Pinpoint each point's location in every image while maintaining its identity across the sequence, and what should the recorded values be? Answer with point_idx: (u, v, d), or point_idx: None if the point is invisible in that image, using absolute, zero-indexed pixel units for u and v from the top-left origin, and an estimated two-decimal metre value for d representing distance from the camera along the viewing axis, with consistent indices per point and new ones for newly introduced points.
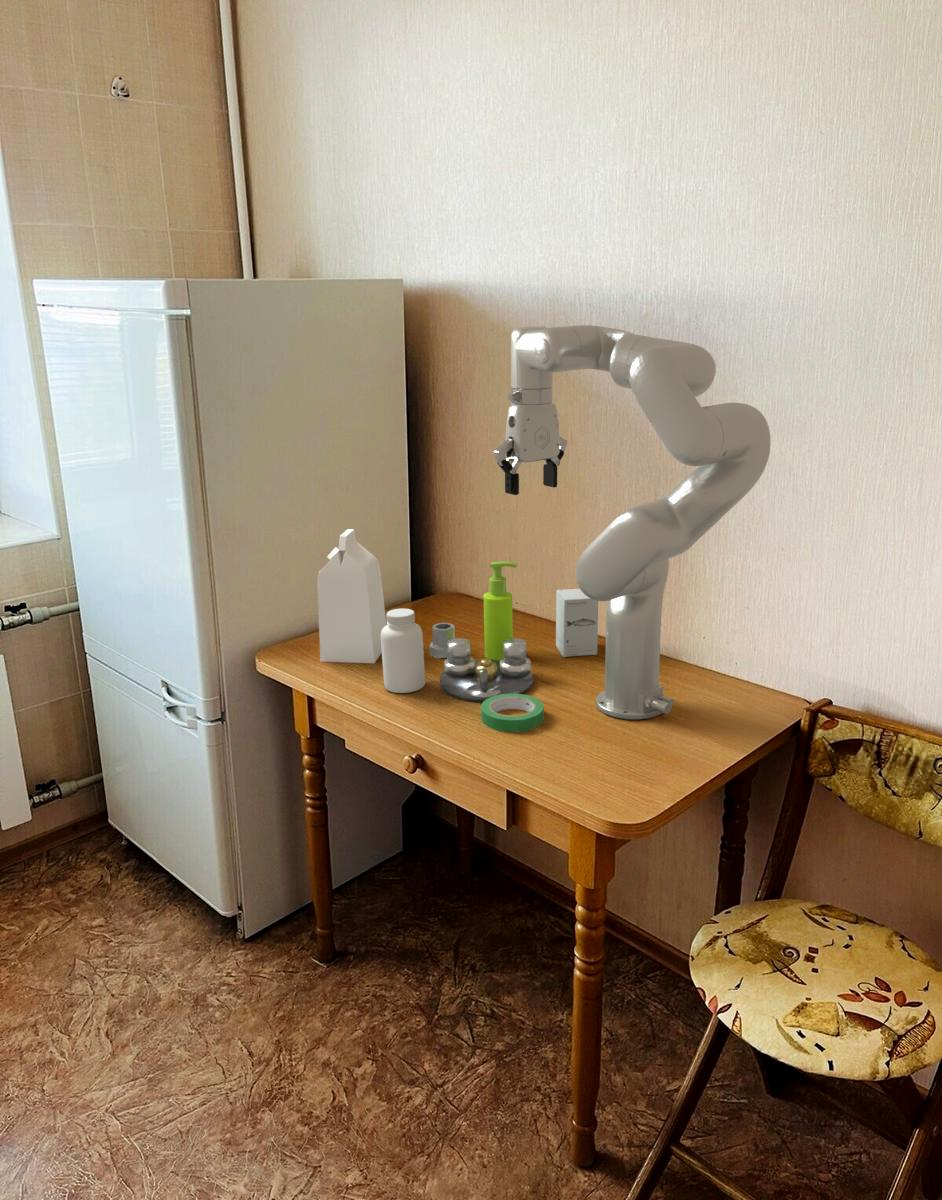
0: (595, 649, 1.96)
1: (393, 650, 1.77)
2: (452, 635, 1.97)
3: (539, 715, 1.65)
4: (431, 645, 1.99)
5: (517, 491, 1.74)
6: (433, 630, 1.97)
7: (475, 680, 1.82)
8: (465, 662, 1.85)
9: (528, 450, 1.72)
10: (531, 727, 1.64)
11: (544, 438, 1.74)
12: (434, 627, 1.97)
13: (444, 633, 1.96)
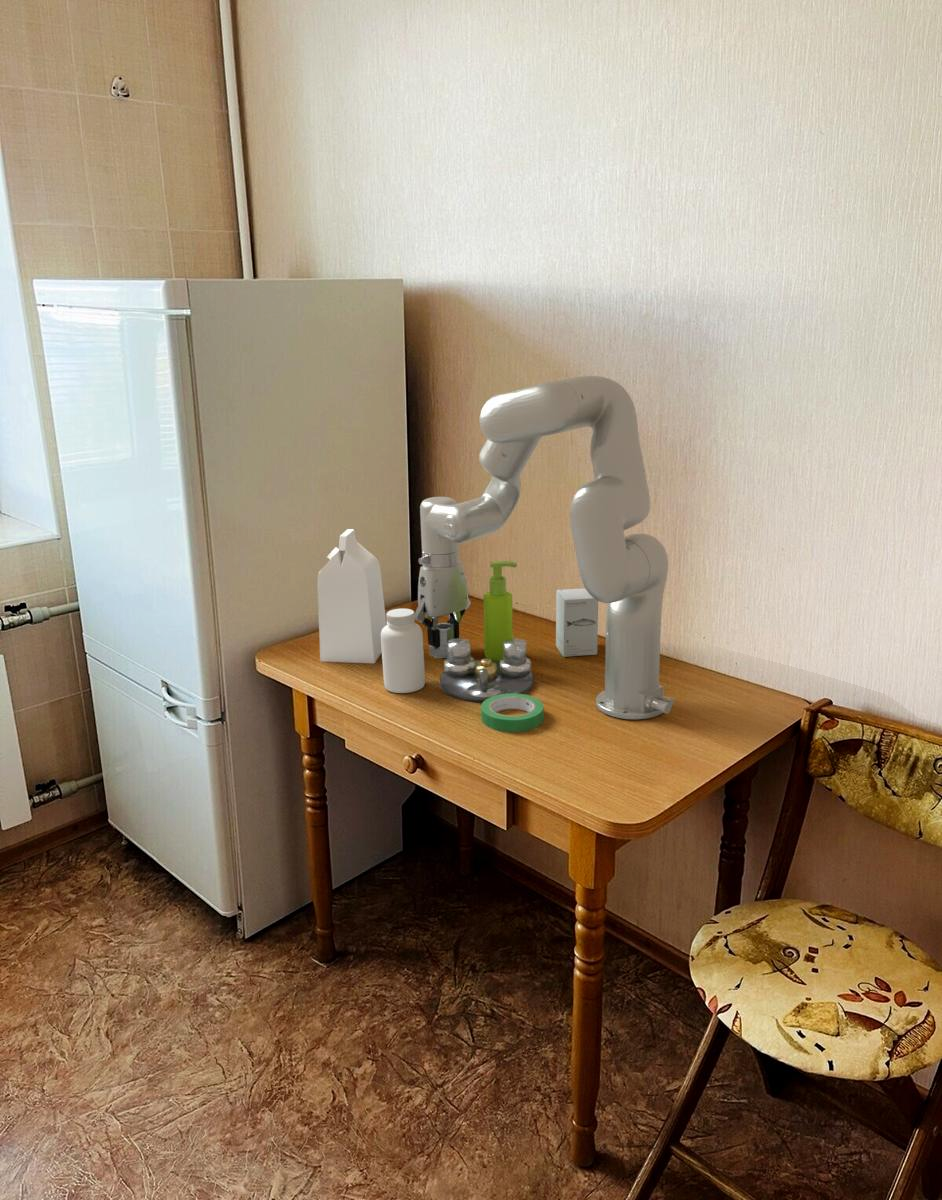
0: (595, 649, 1.96)
1: (393, 650, 1.77)
2: (452, 635, 1.97)
3: (539, 715, 1.65)
4: None
5: (438, 644, 1.96)
6: None
7: (475, 680, 1.82)
8: (465, 662, 1.85)
9: (438, 606, 1.92)
10: (531, 727, 1.64)
11: (453, 594, 1.94)
12: None
13: (444, 633, 1.96)
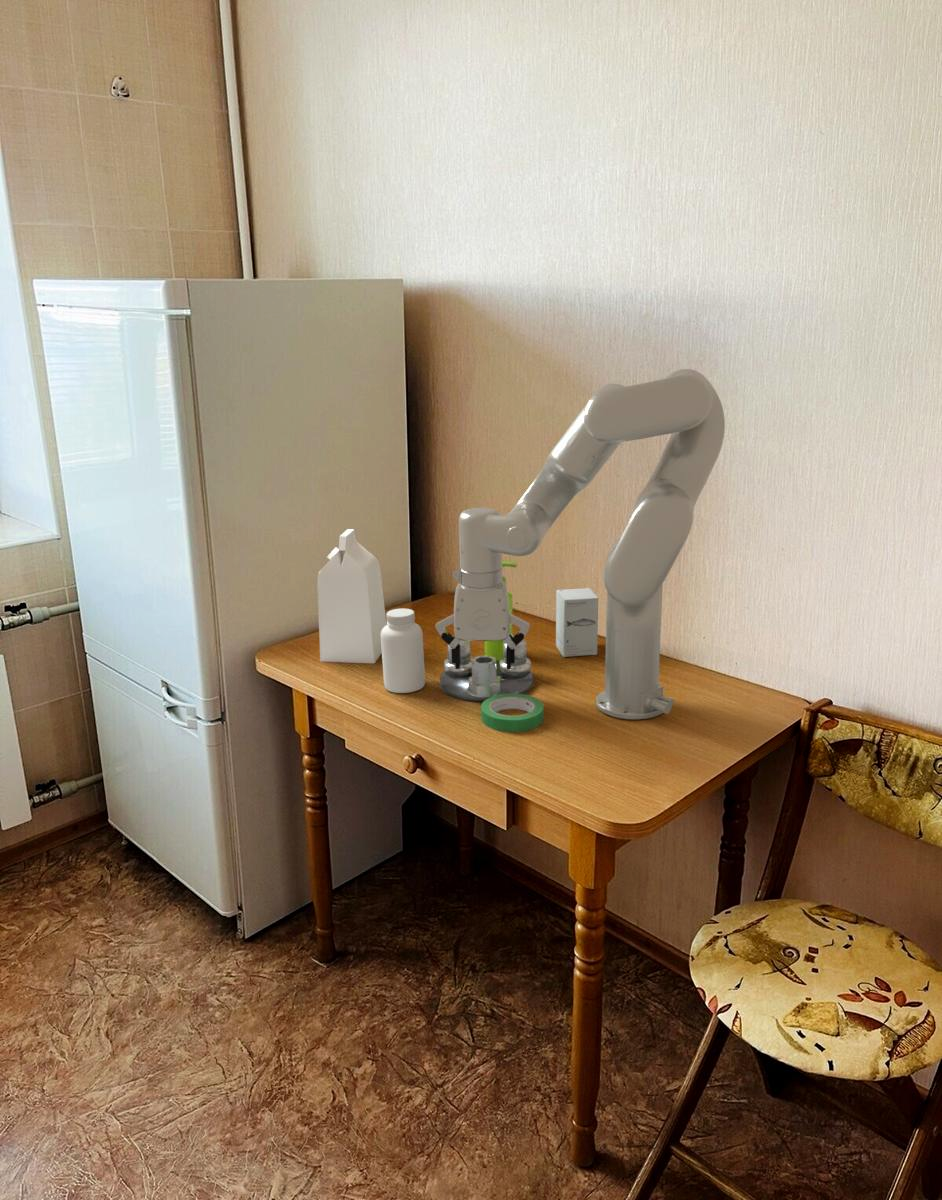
0: (595, 649, 1.96)
1: (393, 650, 1.77)
2: (486, 672, 1.74)
3: (539, 715, 1.65)
4: None
5: (456, 666, 1.75)
6: None
7: None
8: (465, 662, 1.85)
9: (463, 629, 1.71)
10: (531, 727, 1.64)
11: (484, 620, 1.70)
12: (474, 658, 1.77)
13: (476, 667, 1.74)
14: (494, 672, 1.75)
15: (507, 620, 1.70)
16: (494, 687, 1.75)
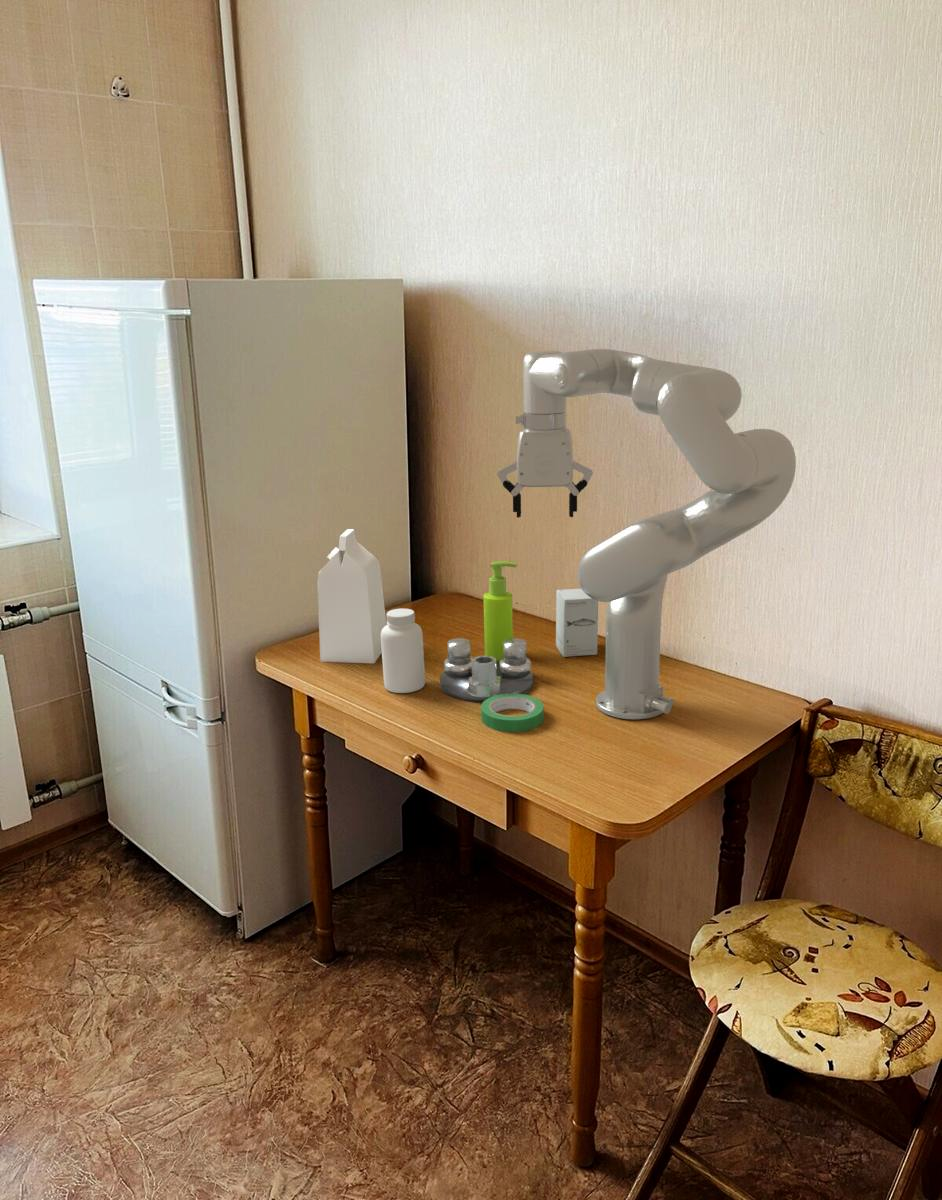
0: (595, 649, 1.96)
1: (393, 650, 1.77)
2: (486, 672, 1.74)
3: (539, 715, 1.65)
4: None
5: (517, 514, 1.74)
6: None
7: None
8: (465, 662, 1.85)
9: (526, 474, 1.71)
10: (531, 727, 1.64)
11: (548, 465, 1.70)
12: (474, 658, 1.77)
13: (476, 667, 1.74)
14: (494, 672, 1.75)
15: (571, 464, 1.70)
16: (494, 687, 1.75)
